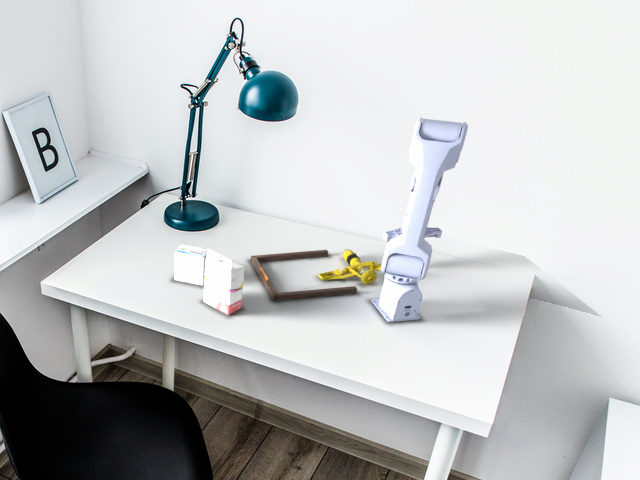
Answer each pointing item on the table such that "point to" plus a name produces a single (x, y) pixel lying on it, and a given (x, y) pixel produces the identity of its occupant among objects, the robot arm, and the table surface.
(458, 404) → the table surface
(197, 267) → the medicine box
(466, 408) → the table surface
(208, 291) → the ink cartridge box
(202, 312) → the table surface
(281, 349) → the table surface
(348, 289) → the frame
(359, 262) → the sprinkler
